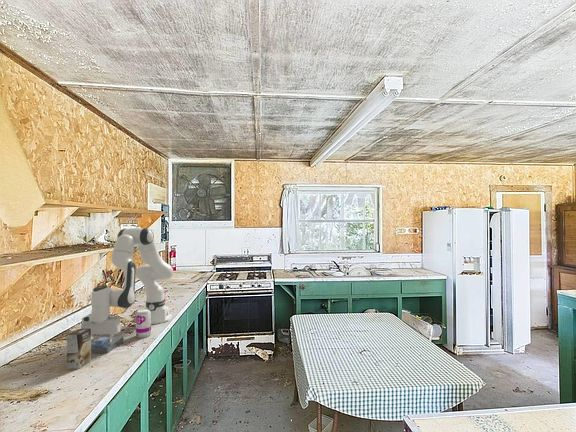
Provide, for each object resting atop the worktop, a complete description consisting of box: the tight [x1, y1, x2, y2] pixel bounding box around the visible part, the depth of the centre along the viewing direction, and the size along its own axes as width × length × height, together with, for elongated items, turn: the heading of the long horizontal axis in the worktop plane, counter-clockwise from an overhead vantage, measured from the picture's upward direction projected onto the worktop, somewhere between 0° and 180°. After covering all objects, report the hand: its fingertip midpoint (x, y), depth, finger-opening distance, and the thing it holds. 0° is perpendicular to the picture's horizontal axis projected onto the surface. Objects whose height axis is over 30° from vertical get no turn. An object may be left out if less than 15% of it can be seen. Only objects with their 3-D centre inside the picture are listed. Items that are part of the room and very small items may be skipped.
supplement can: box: [135, 308, 152, 339], centre depth 202 cm, size 8×8×15 cm
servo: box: [93, 336, 109, 346], centre depth 183 cm, size 9×4×6 cm, turn 179°
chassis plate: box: [91, 336, 125, 354], centre depth 184 cm, size 16×14×3 cm
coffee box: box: [66, 328, 92, 370], centre depth 162 cm, size 9×6×16 cm
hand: (101, 342), depth 182 cm, fingers open, 8 cm apart
